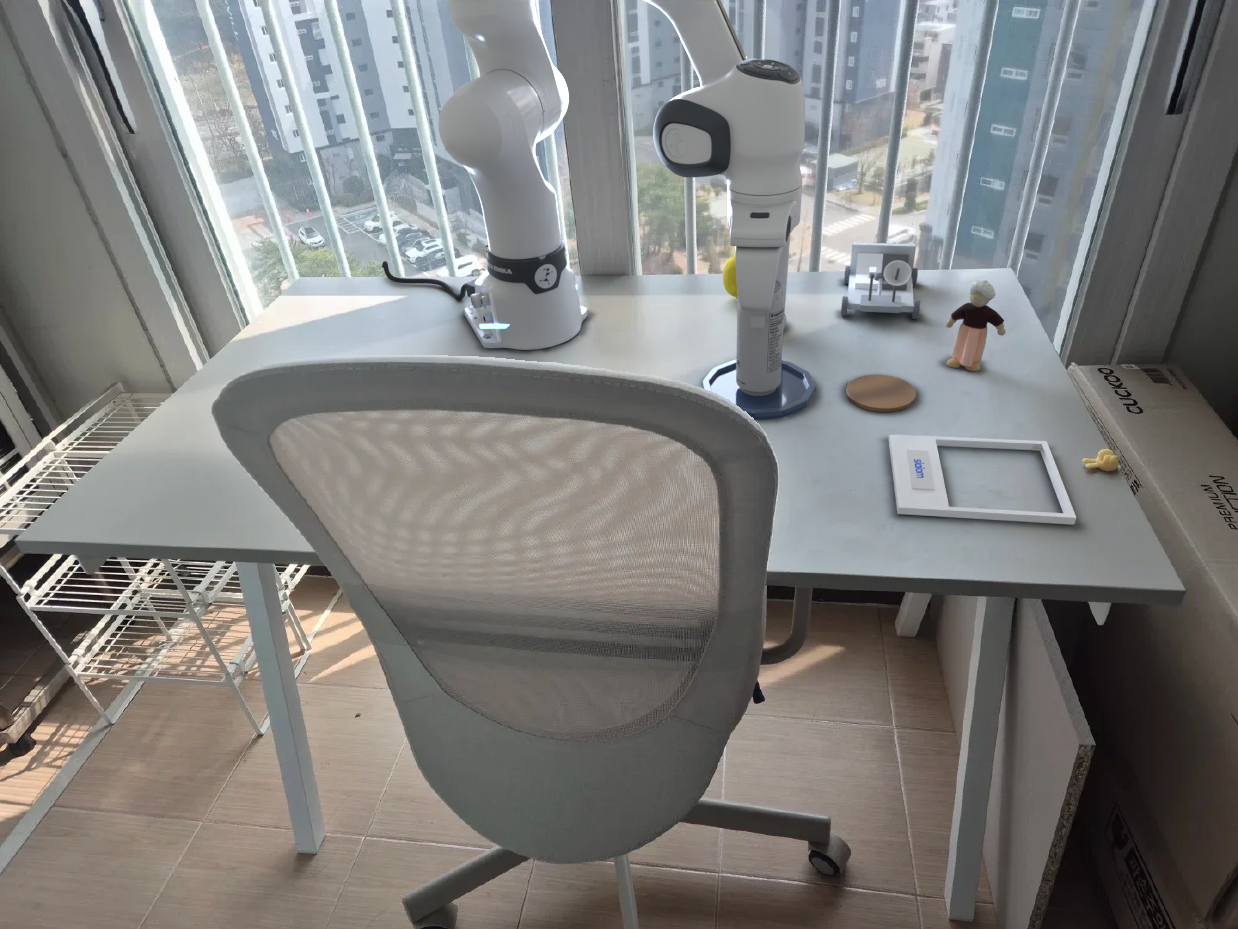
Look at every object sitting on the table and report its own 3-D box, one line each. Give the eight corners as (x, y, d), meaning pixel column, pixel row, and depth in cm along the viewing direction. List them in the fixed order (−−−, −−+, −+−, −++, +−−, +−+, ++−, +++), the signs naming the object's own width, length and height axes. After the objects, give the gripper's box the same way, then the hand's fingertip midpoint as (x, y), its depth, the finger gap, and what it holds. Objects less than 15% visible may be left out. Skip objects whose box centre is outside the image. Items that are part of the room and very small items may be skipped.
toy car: (927, 268, 123) (845, 265, 126) (918, 330, 129) (839, 326, 132) (923, 224, 138) (849, 223, 140) (915, 282, 143) (844, 279, 146)
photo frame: (889, 433, 105) (1047, 439, 101) (888, 440, 105) (1044, 447, 102) (898, 505, 93) (1076, 516, 90) (897, 513, 94) (1074, 524, 90)
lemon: (723, 292, 145) (723, 247, 140) (756, 292, 144) (757, 246, 140) (721, 306, 140) (722, 260, 136) (756, 306, 140) (757, 259, 135)
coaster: (831, 392, 116) (832, 388, 116) (879, 371, 120) (879, 367, 119) (881, 419, 110) (882, 415, 109) (930, 397, 113) (930, 393, 113)
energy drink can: (746, 372, 121) (749, 272, 112) (786, 381, 118) (792, 279, 109) (728, 392, 117) (730, 290, 108) (770, 402, 114) (774, 297, 105)
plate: (681, 387, 120) (681, 379, 119) (764, 354, 126) (764, 347, 125) (750, 432, 109) (751, 424, 109) (837, 395, 115) (837, 387, 115)
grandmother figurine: (938, 369, 119) (952, 284, 112) (939, 356, 122) (953, 272, 115) (997, 375, 117) (1016, 288, 109) (997, 362, 120) (1015, 277, 112)
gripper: (745, 181, 112) (744, 280, 120) (727, 237, 96) (727, 348, 104) (794, 181, 110) (790, 281, 118) (785, 238, 94) (780, 350, 102)
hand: (760, 313), depth 111 cm, fingers closed on energy drink can, 6 cm apart
